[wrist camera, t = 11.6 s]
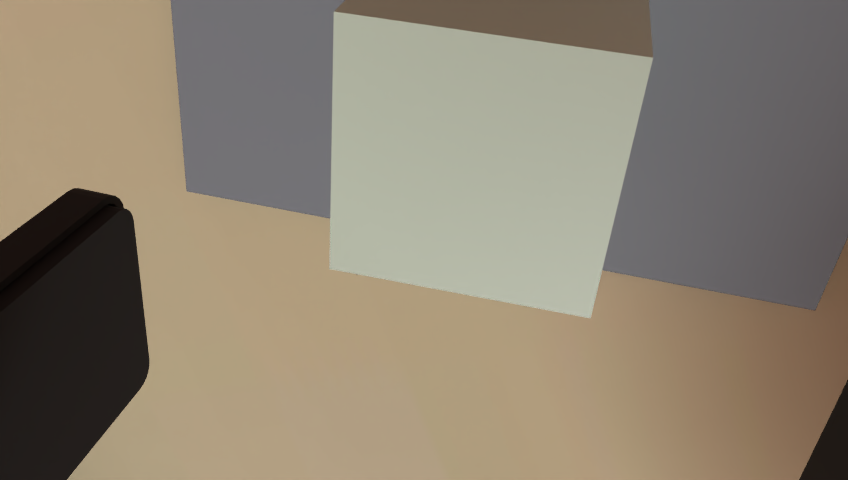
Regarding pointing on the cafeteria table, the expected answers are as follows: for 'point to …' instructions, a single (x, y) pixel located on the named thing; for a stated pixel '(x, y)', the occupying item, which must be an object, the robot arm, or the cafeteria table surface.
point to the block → (484, 142)
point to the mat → (650, 154)
